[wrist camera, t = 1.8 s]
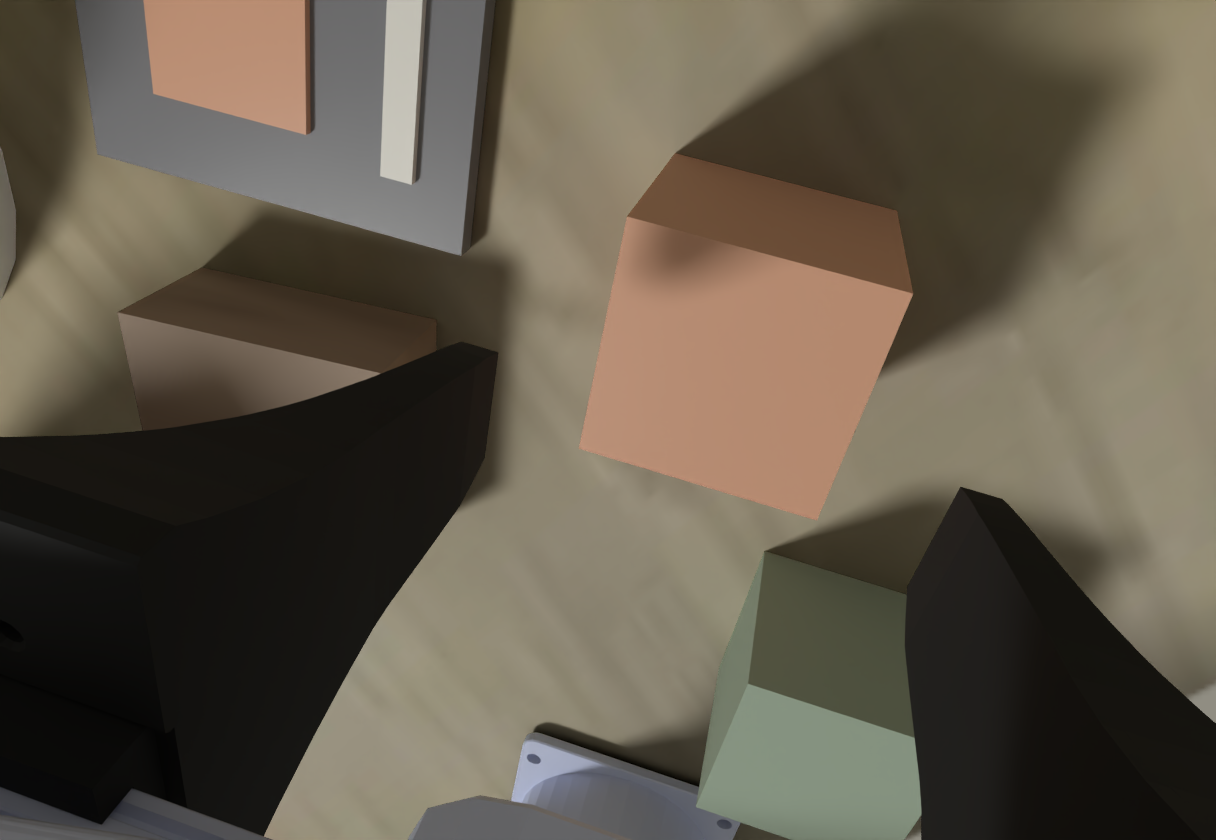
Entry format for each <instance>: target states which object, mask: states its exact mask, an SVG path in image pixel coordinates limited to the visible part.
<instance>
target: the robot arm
mask: <svg viewBox="0 0 1216 840" xmlns="http://www.w3.org/2000/svg"><path fill="white" fill-rule="evenodd" d="M497 358H498V352H495V351H492V350H488V349H485V348H481V347H478V346H475V345H471V344H468V343H464V342H460V343H457V344H453V345H451V346H448V347H445V348H443V349H440V350H438V351H435V352H433V353H430V354H428V355H425V356H423V357H421V358H418V359H416V360H413V361H411V362H409V363H406V364H404V365H401V366H399V367H396V368H394V369H391V370H389V371H386V372H384V373H381V374H379V375H376V376H374V377H371V378H368V379H366V380H363V381H360V382H357V383H354V384H351V385H348V386H345V387H342V388H340V389H337V390H334V391H331V392H328V393H325V394H322V395H319V396H316V397H313V398H310V399H307V400H303V401H300V402H296V403H293V404H289V405H285V406H282V407H277V408H273V409H269V410H265V411H261V412H257V413H252V414H248V415H243V416H238V417H233V418H227V419H221V420H215V421H209V422H203V423H197V424H191V425H185V426H179V427H172V428H164V429H154V430H145V431H136V432H124V433H111V434H98V435H80V436H38V437H0V840H272V839H269V838H266V837H264V834H265V832H266V830H267V828H268V826H269V824H270V822H271V820H272V818H273V815H274V813H275V811H276V809H277V807H278V805H279V803H280V801H281V799H282V797H283V795H284V793H285V791H286V789H287V787H288V785H289V783H290V782H291V780H292V778H293V776H294V774H295V772H296V770H297V768H298V766H299V764H300V762H301V760H302V758H303V756H304V754H305V752H306V750H307V748H308V746H309V744H310V742H311V740H312V738H313V736H314V735H315V733H316V731H317V729H318V727H319V725H320V723H321V722H322V720H323V718H324V716H325V714H326V712H327V710H328V709H329V707H330V705H331V703H332V701H333V699H334V697H335V696H336V694H337V692H338V690H339V688H340V686H341V684H342V683H343V681H344V679H345V677H346V675H347V674H348V672H349V670H350V668H351V667H352V665H353V663H354V661H355V659H356V658H357V656H358V654H359V652H360V651H361V649H362V647H363V645H364V644H365V642H366V640H367V638H368V636H369V635H370V633H371V631H372V629H373V628H374V626H375V625H376V623H377V622H378V620H379V619H380V617H381V616H382V614H383V613H384V611H385V609H386V608H387V606H388V605H389V604H390V602H391V601H392V599H393V598H394V597H395V595H396V594H397V593H398V591H399V590H400V588H401V587H402V586H403V584H404V583H405V581H406V580H407V579H408V577H409V576H410V575H411V573H412V572H413V570H414V569H415V568H416V566H417V565H418V564H419V562H420V561H421V559H422V558H423V557H424V555H425V554H426V552H427V551H428V550H429V548H430V547H431V546H432V544H433V543H434V541H435V540H436V539H437V537H438V536H439V534H440V533H441V532H442V530H443V529H444V527H445V526H446V525H447V523H448V522H449V520H450V519H451V518H452V516H453V515H454V513H455V512H456V510H457V509H458V507H459V506H460V504H461V502H462V500H463V499H464V497H465V495H466V493H467V491H468V489H469V487H470V486H471V484H472V482H473V480H474V478H475V476H476V474H477V472H478V470H479V468H480V466H481V464H482V462H483V460H484V458H485V451H486V443H487V435H488V428H489V420H490V412H491V404H492V397H493V389H494V381H495V374H496V366H497ZM905 654H906V665H907V674H908V684H909V694H910V702H911V711H912V720H913V728H914V737H915V746H916V755H917V764H918V772H919V781H920V797H921V840H1216V723H1215V722H1213V721H1212V720H1211V719H1210V718H1209V717H1208V716H1206V715H1205V714H1204V713H1203V712H1202V711H1201V710H1200V709H1199V708H1197V707H1196V706H1195V705H1194V704H1193V703H1192V702H1191V701H1190V700H1189V699H1188V698H1187V697H1185V696H1184V695H1183V694H1182V693H1181V692H1180V691H1179V690H1178V689H1177V688H1176V687H1174V686H1173V685H1172V684H1171V683H1170V682H1169V681H1168V680H1167V679H1166V678H1165V677H1163V676H1162V675H1161V674H1160V673H1159V672H1158V671H1157V670H1156V669H1155V668H1154V667H1153V666H1152V665H1151V664H1150V663H1149V662H1148V661H1147V660H1146V659H1145V658H1144V657H1143V656H1142V655H1141V654H1140V653H1139V652H1138V651H1137V650H1136V649H1135V648H1134V647H1133V646H1132V645H1131V643H1130V642H1129V641H1128V640H1127V639H1126V638H1125V637H1124V636H1123V635H1122V634H1121V633H1120V632H1119V631H1118V630H1117V629H1116V628H1115V627H1114V626H1113V625H1112V624H1111V623H1110V621H1109V620H1108V619H1107V618H1106V617H1105V616H1104V615H1103V614H1102V613H1101V612H1100V610H1099V609H1098V608H1097V607H1096V606H1095V605H1094V604H1093V603H1092V602H1091V600H1090V599H1089V598H1088V597H1087V596H1086V595H1085V594H1084V592H1083V591H1082V590H1081V589H1080V588H1079V587H1078V585H1077V584H1076V583H1075V582H1074V581H1073V580H1072V578H1071V577H1070V576H1069V575H1068V574H1067V573H1066V571H1065V570H1064V569H1063V568H1062V567H1061V565H1060V564H1059V563H1058V562H1057V561H1056V560H1055V558H1054V557H1053V556H1052V555H1051V554H1050V552H1049V551H1048V550H1047V549H1046V548H1045V546H1044V545H1043V544H1042V543H1041V542H1040V540H1039V539H1038V538H1037V537H1036V536H1035V534H1034V533H1033V532H1032V531H1031V530H1030V528H1029V527H1028V526H1027V525H1026V524H1025V523H1024V521H1023V520H1022V519H1021V518H1020V517H1019V516H1018V515H1017V513H1016V512H1015V511H1014V510H1013V509H1012V508H1011V507H1010V506H1009V505H1008V504H1007V503H1006V502H1005V501H1004V500H1003V499H1001V498H997V497H994V496H990V495H987V494H983V493H980V492H976V491H973V490H970V489H966V488H963V487H960V489H959V491H958V493H957V494H956V496H955V498H954V500H953V502H952V504H951V506H950V508H949V509H948V511H947V513H946V515H945V517H944V519H943V521H942V523H941V525H940V526H939V528H938V530H937V532H936V534H935V536H934V538H933V540H932V541H931V543H930V545H929V547H928V549H927V551H926V553H925V555H924V556H923V558H922V560H921V562H920V564H919V566H918V568H917V570H916V571H915V573H914V575H913V577H912V579H911V581H910V583H909V585H908V586H907V599H906V617H905ZM698 791H699V787H697V786H695V785H692V784H689V783H686V782H683V781H680V780H677V779H674V778H671V777H668V776H665V775H662V774H659V773H656V772H653V771H650V770H647V769H644V768H642V767H639V766H636V765H633V764H630V763H627V762H624V761H621V760H618V759H615V758H612V757H609V756H606V755H603V754H600V753H597V752H594V751H591V750H589V749H586V748H583V747H580V746H577V745H574V744H571V743H568V742H565V741H562V740H559V739H556V738H553V737H550V736H547V735H544V734H541V733H537V732H535V733H530V734H528V735H527V736H526V738H525V741H524V743H523V747H522V751H521V756H520V761H519V765H518V770H517V775H516V780H515V784H514V789H513V794H512V798H511V801H509V800H503V799H498V798H492V797H487V796H481V795H480V796H475V797H471V798H467V799H463V800H459V801H454V802H450V803H446V804H442V805H438V806H434V807H431V808H428V809H427V810H426V812H425V813H424V815H423V816H422V818H421V819H420V821H419V822H418V824H417V825H416V827H415V828H414V830H413V831H412V833H411V834H410V836H409V838H408V840H733V838H734V836H735V834H736V832H737V830H738V828H739V825H740V823H741V822H738V821H735V820H732V819H729V818H726V817H723V816H720V815H718V814H715V813H712V812H709V811H706V810H703V809H700V808H697V807H696V803H697V797H698Z"/></svg>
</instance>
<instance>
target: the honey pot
mask: <svg viewBox="0 0 1216 840" xmlns="http://www.w3.org/2000/svg"><path fill="white" fill-rule="evenodd" d="M15 260H16V208H15V204H14V199H13V195H12V191H11V187H10V182H9V178H8V174H7V170H6V165H5V161H4V157H3V152H2V149H1V147H0V299H1V298H2V297H3V294H4V292H5V289H6V286H7V283H8V280H9V277H10V274H11V271H12V268H13V265H14V263H15Z"/></svg>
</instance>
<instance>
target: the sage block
mask: <svg viewBox="0 0 1216 840" xmlns="http://www.w3.org/2000/svg"><path fill="white" fill-rule="evenodd" d="M906 599H907V595H906V594H903V593H900V592H897V591H893V590H890V589H887V588H883V587H880V586H877V585H874V584H870V583H867V582H864V581H861V580H857V579H854V578H851V577H848V576H844V575H841V574H838V573H835V572H831V571H828V570H825V569H822V568H818V567H815V566H812V565H808V564H805V563H802V562H799V561H795V560H792V559H789V558H786V557H782V556H779V555H776V554H773V553H769V552H766V551H764V554H763V557H762V559H761V562H760V564H759V567H758V569H757V572H756V575H755V577H754V580H753V582H752V585H751V587H750V590H749V593H748V595H747V598H746V600H745V603H744V605H743V608H742V611H741V613H740V616H739V618H738V621H737V623H736V626H735V629H734V631H733V634H732V636H731V639H730V641H729V644H728V646H727V649H726V652H725V654H724V657H723V659H722V662H721V664H720V667H719V671H718V677H717V683H716V689H715V695H714V701H713V707H712V713H711V719H710V725H709V731H708V737H707V743H706V749H705V755H704V761H703V767H702V773H701V779H700V785H699V791H698V797H697V803H696V807H697V808H700V809H703V810H706V811H709V812H712V813H715V814H718V815H720V816H723V817H726V818H729V819H732V820H735V821H738V822H741V823H744V824H747V825H750V826H752V827H755V828H758V829H761V830H764V831H767V832H770V833H773V834H776V835H779V836H782V837H785V838H787V839H790V840H904V839H905V838H906V836H907V835H908V833H909V832H910V831H911V829H912V828H913V826H914V825H915V823H916V822H917V820H918V819H919V817H920V816H921V797H920V781H919V772H918V764H917V755H916V746H915V737H914V728H913V720H912V711H911V702H910V694H909V684H908V674H907V665H906V654H905V617H906Z"/></svg>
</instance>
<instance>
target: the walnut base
mask: <svg viewBox="0 0 1216 840" xmlns="http://www.w3.org/2000/svg"><path fill="white" fill-rule="evenodd" d="M117 313H118V318H119V323H120V327H121V332H122V337H123V341H124V346H125V351H126V355H127V360H128V365H129V369H130V374H131V379H132V383H133V388H134V393H135V397H136V402H137V407H138V411H139V416H140V421H141V425H142V430H143V431H145V430H154V429H164V428H172V427H179V426H185V425H191V424H197V423H203V422H209V421H215V420H221V419H227V418H233V417H238V416H243V415H248V414H252V413H257V412H261V411H265V410H269V409H273V408H277V407H282V406H285V405H289V404H293V403H296V402H300V401H303V400H307V399H310V398H313V397H316V396H319V395H322V394H325V393H328V392H331V391H334V390H337V389H340V388H342V387H345V386H348V385H351V384H354V383H357V382H360V381H363V380H366V379H368V378H371V377H374V376H376V375H379V374H381V373H384V372H386V371H389V370H391V369H394V368H396V367H399V366H401V365H404V364H406V363H409V362H411V361H413V360H416V359H418V358H421V357H423V356H425V355H428V354H430V353H433V352H435V351H436V340H437V320H436V319H431V318H427V317H422V316H418V315H413V314H409V313H404V312H400V311H395V310H391V309H386V308H382V307H377V306H373V305H368V304H364V303H359V302H355V301H350V300H346V299H341V298H337V297H332V296H328V295H324V294H319V293H315V292H310V291H306V290H301V289H297V288H292V287H288V286H283V285H279V284H274V283H270V282H265V281H261V280H256V279H252V278H247V277H243V276H238V275H234V274H229V273H225V272H220V271H216V270H211V269H207V268H203V267H202V268H200V269H198V270H196V271H194V272H192V273H191V274H189V275H187V276H185V277H183V278H181V279H179V280H177V281H175V282H174V283H172V284H170V285H168V286H166V287H164V288H162V289H160V290H158V291H157V292H155V293H153V294H151V295H149V296H147V297H145V298H143V299H141V300H140V301H138V302H136V303H134V304H132V305H130V306H128V307H126V308H124V309H123V310H121V311H119V312H117Z"/></svg>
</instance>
